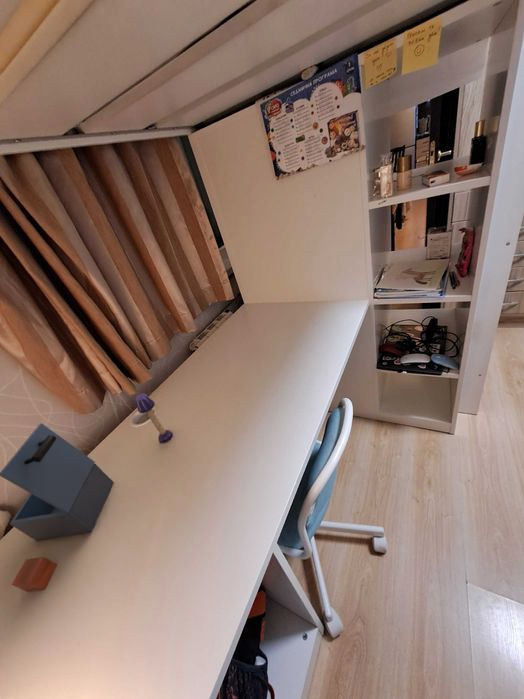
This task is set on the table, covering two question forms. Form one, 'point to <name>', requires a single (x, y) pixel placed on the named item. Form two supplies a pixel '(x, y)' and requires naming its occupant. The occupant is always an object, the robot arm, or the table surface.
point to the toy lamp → (152, 416)
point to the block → (34, 574)
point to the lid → (49, 468)
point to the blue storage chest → (52, 522)
